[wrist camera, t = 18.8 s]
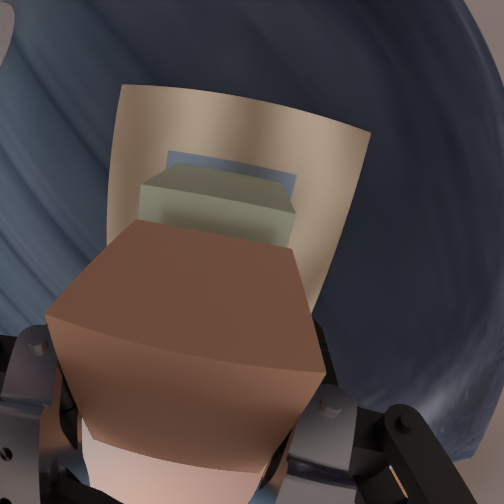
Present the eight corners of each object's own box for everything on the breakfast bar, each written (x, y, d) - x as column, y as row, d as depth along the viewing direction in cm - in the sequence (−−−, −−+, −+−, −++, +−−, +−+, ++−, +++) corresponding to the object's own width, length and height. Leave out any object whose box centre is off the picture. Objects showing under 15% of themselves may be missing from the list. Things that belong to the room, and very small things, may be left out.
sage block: (166, 255, 18) (135, 310, 13) (178, 162, 15) (140, 184, 10) (257, 272, 19) (260, 335, 13) (280, 182, 16) (296, 213, 11)
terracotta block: (135, 336, 11) (93, 439, 6) (136, 218, 8) (44, 313, 4) (257, 359, 11) (259, 473, 6) (292, 248, 9) (326, 373, 4)
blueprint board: (112, 291, 20) (108, 297, 19) (127, 85, 14) (121, 84, 13) (301, 327, 22) (302, 335, 21) (366, 132, 15) (371, 133, 15)
